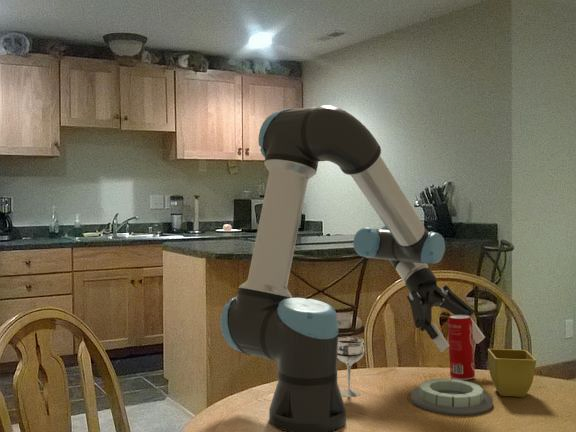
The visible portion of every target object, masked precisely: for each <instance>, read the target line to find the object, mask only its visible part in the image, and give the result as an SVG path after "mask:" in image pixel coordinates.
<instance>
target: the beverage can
mask: <svg viewBox="0 0 576 432" xmlns="http://www.w3.org/2000/svg"><path fill="white" fill-rule="evenodd" d="M471 317H472V316H471ZM471 317H470V316H469V315H454V314H451V315H449V316H448V319H447V335H448V344H449V345H450V346H449V347H448V353H449V354H448V356H449V375H450V377H451V379H457V380H464V381H468V380H472V379H474V378H475V376H476V375H475V374H476V370H475V368H476V367H475V355H474V354H475V353H474V352H475V350H474V349H475V348H474V339H473V327H472V320H471Z"/></svg>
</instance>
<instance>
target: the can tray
mask: <svg viewBox="0 0 576 432" xmlns="http://www.w3.org/2000/svg"><path fill="white" fill-rule="evenodd" d="M410 401H411V403H412V404H413V405H415V406H416V407H418V408H420V409H423V410H426V411H428V412H431V413H437V414H442V415H449V416H450V415H451V416H471V415H472V416H473V415H479V414H482V413H483V414H485V413H486V412H488V411H490V410H492V408H493V398H492V396H490V395H489V394H488V393H486V392H484V388H483V387H481V386H480V385H479V384H478V383H474V382H471V381H468V380H457V379H453V378H435V379H434V378H433V379H429V380H425V381H422V382H421V383H420V384H419V387H417V388H414V389H413V390H412V391H411V393H410Z"/></svg>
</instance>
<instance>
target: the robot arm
mask: <svg viewBox="0 0 576 432" xmlns="http://www.w3.org/2000/svg"><path fill="white" fill-rule="evenodd" d="M257 139H258V146H259V147H260V149H259V151H260V152H261V155H262V157H264V164H263V165H264V166H265V169H267V171H268V177H267V182H266V188H265V191H264V198H263V201H262V208H261V210H260V211H261V212H260V217H259V222H258V227H257V231H256V237H255V243H254V246H253V252H252V255H251V262H250V266H249V272H248V276H247V280H246V281H245V282H243V283H242V284H240V285H239V286H238V289H237V295H236V296H234V297H232V298H231V299H229V300H228V302H227V303H226V304H225V305H224V307H223V309H222V312H221V317H220V329H221V333H222V337H223V338H224V339H225V341H226V343H227V345H228V346H229V347H230V348H231V349H234V350H235V351H238V352H240V353H243V354H245V355H247V356H255V357H258V358H263V359H266V360H271V361H275V362H277V365H278V369H277V371H278V372H277V373H278V374H277V375H278V378H277V379H278V380H277V384H276V388H275V390H274V393H273V396H272V399H271V403H270V405H269V414H268V418H269V420H268V421H269V423H270V424H271V425H272V426H274V427H275V428H277V429H279V430H282V431H286V432H332V431H335V430H337V429H340V428H342V427H344V425H345V424H346V421H347V409H346V406H345V402H344V400H343V396H341V393H340V391H341V390H340V387H339V383H338V358H337V354H338V337H339V325H338V314H337V312H336V310H335V308H334V307H333V306H332V305H331V304H329V303H326V302H324V301H321V300H318V299H314V298H304V297H293V296H292V294H291V292H290V290H289V288H288V285H289V279H290V275H291V274H290V273H291V268H292V263H293V258H294V253H295V248H296V243H297V237H298V232H299V226H300V222H301V217H302V211H303V207H304V206H303V205H304V201H305V195H306V191H307V186H308V181H309V180H310V179H311V178H313V177H314V176H315V175H317V171H318V166H319V162H326V161H327V162H331V163H333V164H334V165H337V166H338V167H339V169H340V170H341V171H342V172H343V174H345V175H346V176H347V175H348V176H350V177H351V178H352V179H353V181H354V182H355V184H356V185H357V186H358V188H359V190H360V191H361V193H362V194H363V195H364V197H365V198H366V200H367V201H368V202H369V204H370V205H371V206H372V208H373V210H374V211H375V213H376V214H377V216H378V217H379V218H380V220H381V221H382V223H383V224H384V226H382V227H381V228H375V227H370V226H369V227H366V226H365V227H363V228H360V229H359V230H358V231H356V232H355V235H354V237H353V244H352V246H353V249H354V251H355V252H356V254H358V255H359V257H363V258H366V259H377V260H386V261H389V262H390V264H391V265H392V267H393V268H394V270H395V271H396V272H397V274H398V275H399V277H400V278H401V280H402V282H403V283H404V284H405V286H406V288H407V290H408V291H409V293H408V295H406V298H407V301H408V303H409V304H410V309H411V314H412V317H413V322H414V326H415V328H417V329H419V330H420V331H421V332H424V331H425V332H426V334H427V336H429V337H430V339H431V340H432V341H433V343H435V345H436V346H437V348H438V350H439V351H440V353H444V352H445V351H446V350H447V349H449V346H450V345H449V341H448V340H447V339H446V338H445V337H444V334H443V333H442V332H441V330H440V329H439V327H438V326H437V324H436V323H435V322H432V308H433V307H439V308H442V309H445V310H447V311H448V312H449V313H451V314H452V315H469V316H470V317H471V320H472V327H473V342H475V343H476V344H480V343H481V342H482V341H483V340H484V339H485V338H486V336H485V335H484V334H483V332H482V330H481V329H480V327H479V325H478V324H477V323H476V321H475V320H474V318H473V317H472V316H473V314H474V313H475V310H474V309H473V308H472V307H471V306H470V305H468V304H467V303H466V302H465V301H463V299H461V298H460V297H459V296H458V295H457V294H456V293H454V292H453V291H452V289H450V287H449V286H448V285H446V284H445V285H444V286H443V287H442V288H441V287H439V286H438V285H437V280H438V279H437V277H436V276H435V274H434V272H433V271H432V269H430V268H429V265H428V264H431V265H432V264H433V265H434V264H438V263H439V262H441V261H442V259H443V256H444V254H445V251H446V243H445V239H444V237H443V235H442V234H440V233H439V232H434V231H428V230H427V228H426V226H424V224H423V221H422V220H421V219H420V217H419V215H418V214H417V212H416V211H415V209H414V208H413V206H412V204H411V203H410V201H409V199H408V198H407V196H406V194H405V193H404V191H403V190H402V189H401V187H400V185H399V183H398V182H397V180H396V179H395V176H393V174H392V172H391V171H390V169H389V168H388V166H387V164H386V163H385V162H384V159H383V158H382V156H381V155H382V147H381V146H380V144H379V143H378V141H377V138H375V137H374V135H373V134H372V132H371V131H370V130H369V129H368V128H367V126H366V125H364V123H362V122H361V121H360V120H359V119H358V118H357V117H355V116H354V115H352V114H351V113H349V112H348V111H347V110H345V109H342V108H340V107H337V106H334V105H321V106H320V105H319V106H310V107H309V106H308V107H302V108H300V107H299V108H292V107H291V108H289V107H288V108H285V109H282V110H277V111H275V112H272V113H271V114H269V115H268V116H267V117H266V118H265V120H264V121H263V122H262V123H261V126H260V129H259V133H258V138H257Z"/></svg>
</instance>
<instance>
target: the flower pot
mask: <svg viewBox="0 0 576 432" xmlns="http://www.w3.org/2000/svg"><path fill="white" fill-rule="evenodd" d="M487 359H488V369H489V373H490V378H491V380H492V383H493V386H494V388H495V389H496V391H497V392H498V394H499V395H500V396H501V397H518V398H519V397H520V398H523V397H525V396H526V395H527V393H529V390H530V389H531V387H532V385H533V381H534V377H535V370H536V364H537V359H536V358H535V357H534V356H533V355H532V354H531V353H530V352H529V351H528V350H526V349H511V348H510V349H508V348H507V349H506V348H503V349H502V348H487Z"/></svg>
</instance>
